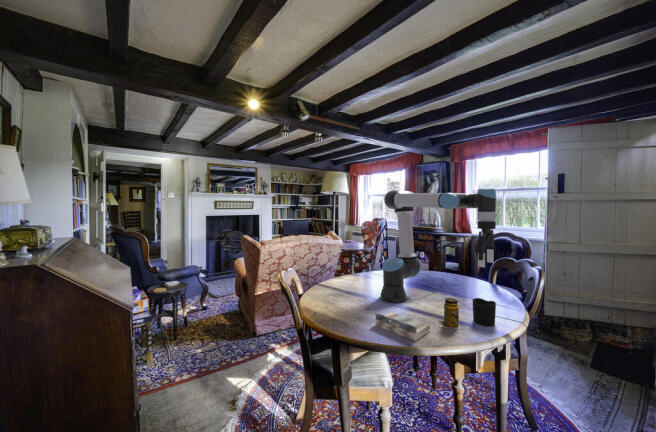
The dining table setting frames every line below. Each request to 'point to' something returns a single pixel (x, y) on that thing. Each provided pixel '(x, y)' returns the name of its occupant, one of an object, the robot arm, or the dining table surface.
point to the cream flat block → (402, 325)
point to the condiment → (450, 314)
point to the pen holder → (484, 312)
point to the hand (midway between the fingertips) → (486, 264)
